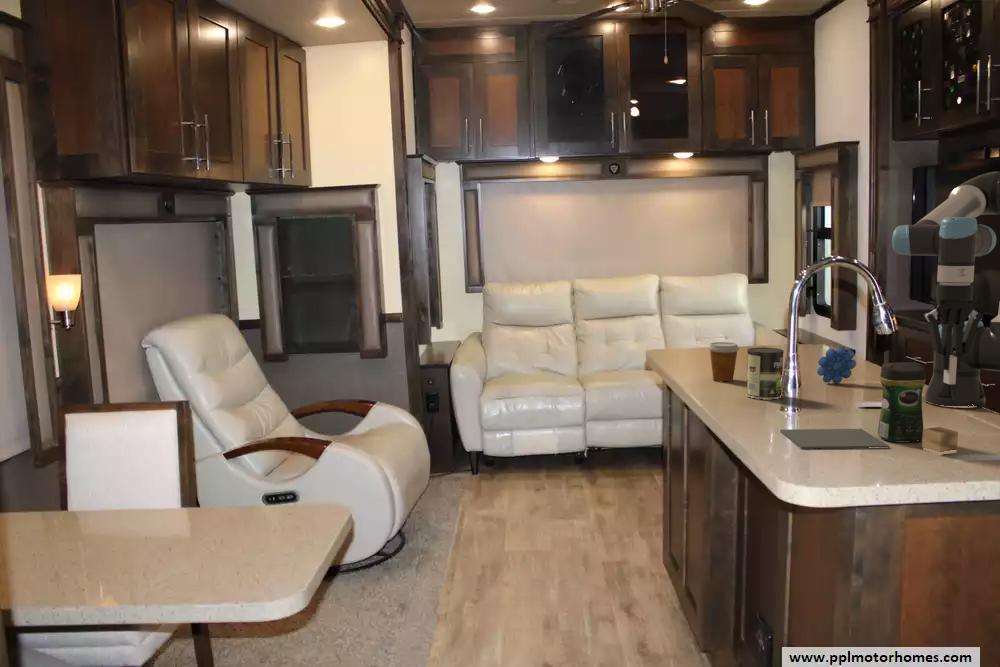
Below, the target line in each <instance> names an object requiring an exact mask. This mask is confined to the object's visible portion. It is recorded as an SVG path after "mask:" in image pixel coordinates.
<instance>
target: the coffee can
mask: <svg viewBox="0 0 1000 667" xmlns="http://www.w3.org/2000/svg"><path fill="white" fill-rule="evenodd" d="M746 352H747V363H746V364H747V370H746V372H747V373H746V397H747V396H748V397H747V398H749V397H751V398H750V399H752V398H756V399H755V400H759V399H763V401H773V400H772V399H777V400H780V399H779V398H780V395H781V386H780V380H781V375H782V372H783V373H784V349H781V348H775V347H751V348H747V350H746Z"/></svg>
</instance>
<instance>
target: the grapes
mask: <svg viewBox="0 0 1000 667" xmlns="http://www.w3.org/2000/svg"><path fill="white" fill-rule="evenodd" d="M854 356H855V353H854V351H852V350H847V349H846V347H845V346H839V347H837V348H836V350H835V349H834V348H830V349H828V350H826V352H825V356H822V357H820V358H819V359H818V360H817V361H818V362H817V363H818V365H819V366H820V367H818V368H817V370H816V374H817V375H818V376H819V377H820V376H822V381H823V382H824V383H830V382H832V383H833V384H835V383H838V384H840V383H841V382H842V380H843V379H848V378H850V377H851V375H852V370H853V369H854V368H856V367H857V360H855V359H854Z"/></svg>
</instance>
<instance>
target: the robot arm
mask: <svg viewBox="0 0 1000 667" xmlns="http://www.w3.org/2000/svg"><path fill="white" fill-rule="evenodd" d="M983 215H984V216H985V215H1000V171H991V172H987V173H983V174H980V175H977V176H975V177H973V178H970V179H969V180H967V181H964V182H962V183H961V184H959V185H958V186H956V187H954V189H953V190H951V192H950V193H949V195H948V197H947V199H946V200H944V201H943V202H942V203H941V204H939V205H938V206H936V207H935V208H934V209H933V210H932V211H930V212H929V213H928V214H926V215H925V216H924V217H922V218H921V219H920V220H919V221H917V222H916V223H915V224H903V225H902V224H901V225H898V226H897V227H896V228H894V231H893V232H892V233H893V234H892V237H891V244H892V249H893V252H895V253H896V254H897V255H905V256H909V257H911V256H923V257H924V256H925V257H926V256H929V257H930V256H932V257H933V256H936V257H938V263H937V276H936V277H937V278H936V279H937V283H939V284H937V285H936V294H935V295H936V298H935V300H936V303H935V305H934V307H933V310H931V311H930V312H925V313H923V318H924V319H925V321H926V323H927V327H928V332H929V336H930V337H929V338H930V342H931V343H930V344H931V348H932V351H933V365H932V366H933V370H932V376H931V379H930V382H929V383H928V386H927V388H926V391H925V392H924V393H925V394H924V401H925V400H926V401H928V402H930V403H933V404H938V405H944V406H968V405H969V406H973V405H974V406H977V407H980V408H979V409H981V408H985V407H986V395H985V391H984V388H983V385H982V381H981V377H980V376H981V370H983V371H992V372H1000V302H999V304H998V305H999V306H998V312H997V313H998V314H997V315H996V316H995V317H994V318H992V319H991V320H990V325H989V327H985V325H984V323H983V321H981V320H982V319H983V317H984V315H983V313H980V312H977V311H976V310H974V306H973V304H972V301H973V297H974V286H973V285H972V283H973V282H974V280H975V278H974V277H975V275H974V274H975V265H976V264H975V262H976V257H978V258H979V257H983V256H986V255H987V254H989V253H990V252H992V251H993V250H994V248H995V247H996V245H997V235H996V232H995V231H994V230H993V229H992V228H991V227H990V226H987V225H985V224H981V223H980V224H978V220H977V219H976V218H977V217H979V216H983ZM938 319H940V324H938V321H937V320H938ZM967 319H968V320H967ZM972 404H973V405H972ZM969 406H968V407H969Z"/></svg>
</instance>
